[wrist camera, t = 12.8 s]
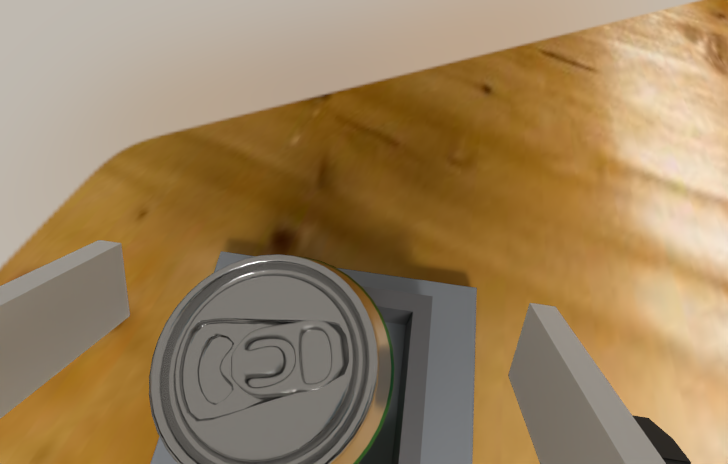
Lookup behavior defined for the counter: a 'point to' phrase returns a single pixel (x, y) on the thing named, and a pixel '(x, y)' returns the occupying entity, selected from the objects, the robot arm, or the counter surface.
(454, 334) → the mount
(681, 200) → the counter surface
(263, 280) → the soda can
